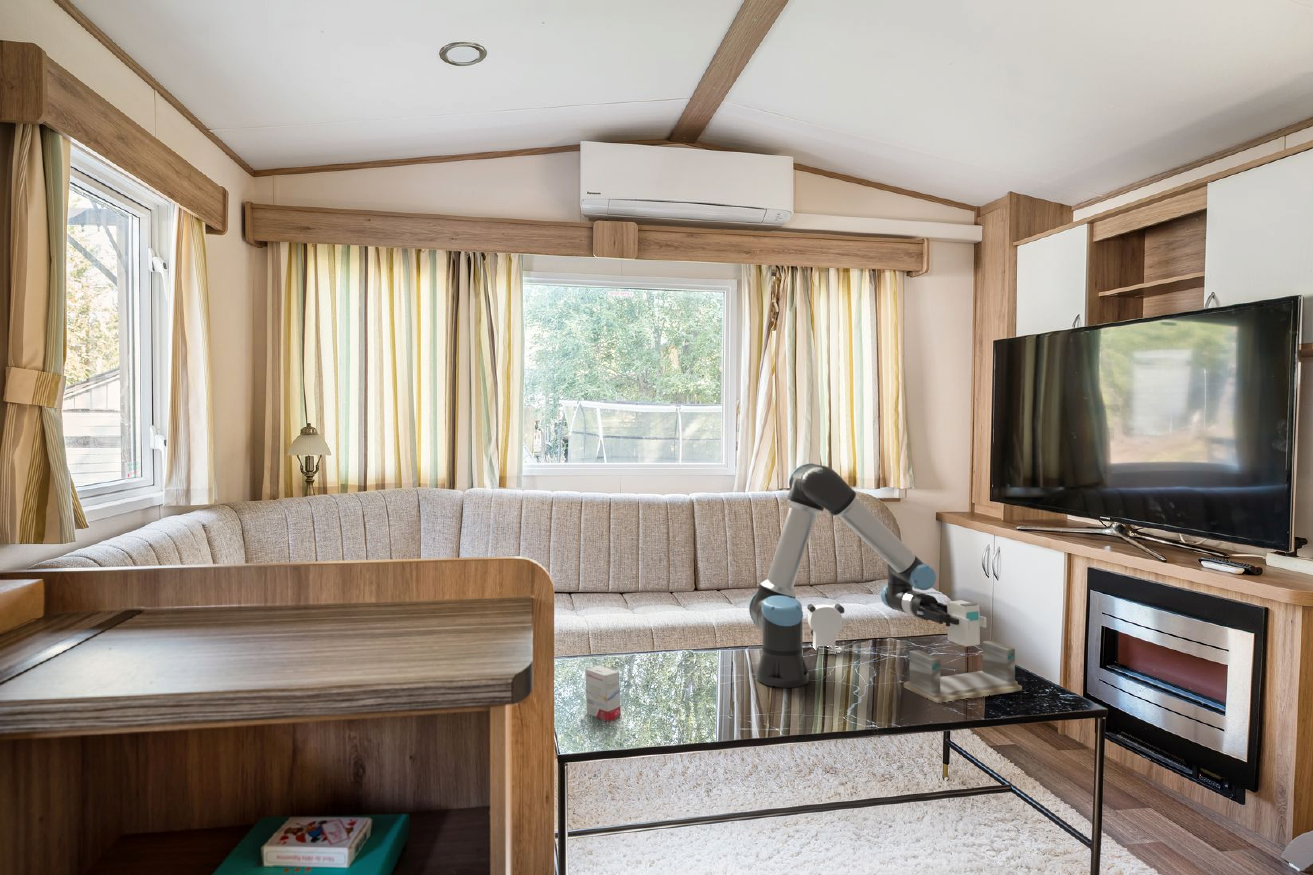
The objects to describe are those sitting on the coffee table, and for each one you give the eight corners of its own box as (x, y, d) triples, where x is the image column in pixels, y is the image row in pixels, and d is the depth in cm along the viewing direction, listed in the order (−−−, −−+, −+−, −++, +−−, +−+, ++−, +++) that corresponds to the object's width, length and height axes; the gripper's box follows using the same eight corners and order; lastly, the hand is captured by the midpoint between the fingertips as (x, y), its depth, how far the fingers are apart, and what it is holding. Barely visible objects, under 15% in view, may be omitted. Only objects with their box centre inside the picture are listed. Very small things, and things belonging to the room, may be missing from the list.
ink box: (621, 717, 194) (621, 671, 194) (606, 722, 191) (606, 676, 191) (599, 708, 201) (599, 664, 200) (584, 713, 197) (584, 668, 197)
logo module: (965, 646, 209) (965, 605, 209) (947, 639, 216) (947, 600, 216) (980, 644, 211) (979, 604, 211) (961, 638, 218) (961, 598, 218)
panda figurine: (838, 644, 258) (838, 600, 258) (848, 654, 246) (848, 608, 246) (803, 645, 257) (803, 601, 257) (812, 655, 246) (811, 609, 246)
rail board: (937, 703, 202) (937, 662, 202) (903, 686, 216) (903, 648, 215) (1021, 690, 212) (1021, 651, 212) (984, 674, 225) (984, 638, 225)
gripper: (944, 614, 234) (1002, 633, 212) (896, 620, 228) (950, 640, 206) (944, 590, 234) (1002, 607, 212) (895, 595, 227) (950, 613, 206)
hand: (977, 623), depth 209 cm, fingers closed on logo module, 5 cm apart
